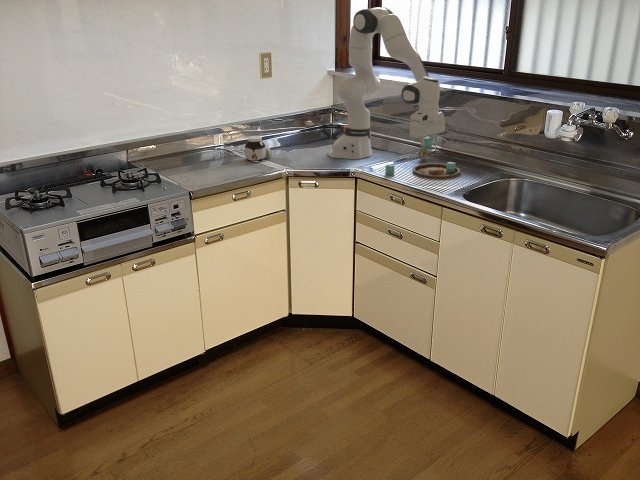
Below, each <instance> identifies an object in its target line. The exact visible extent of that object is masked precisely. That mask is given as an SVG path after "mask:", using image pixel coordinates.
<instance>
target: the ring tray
mask: <svg viewBox="0 0 640 480" xmlns="http://www.w3.org/2000/svg"><path fill="white" fill-rule="evenodd" d="M446 165H447V163H440V162H439V163H437V162H435V163H433V162H427V163H421V164H420V163H419V164H417V165H414V166H412V174H413V175H415V176H416V177H418V178H422V179H429V180H450V179H455V178H457V177H459V176H460V175H461V170H460V168H459V167H457V166H455V173H454V174H447V173H446Z"/></svg>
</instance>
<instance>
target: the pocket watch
mask: <svg viewBox="0 0 640 480" xmlns="http://www.w3.org/2000/svg"><path fill="white" fill-rule="evenodd" d="M428 155H429V149H423V146H421V147H420V149H419V151H418V159H420V160H421V162H422V163H423V164H427V163H428V162H432V163H437V160H435V159H431V158H430V159H429V158H427V157H428Z"/></svg>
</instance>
